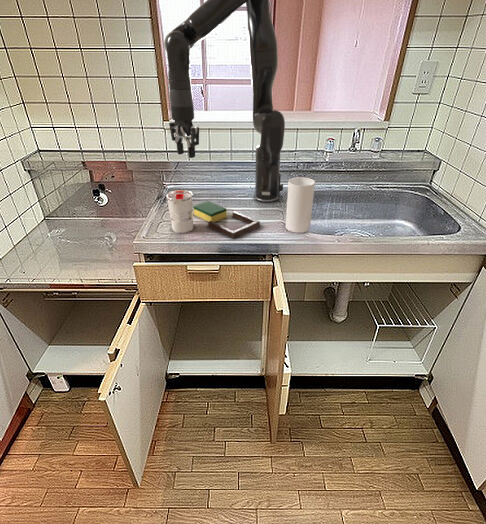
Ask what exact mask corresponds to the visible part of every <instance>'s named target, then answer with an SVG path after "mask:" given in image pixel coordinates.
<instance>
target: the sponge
mask: <svg viewBox="0 0 486 524" xmlns="http://www.w3.org/2000/svg"><path fill="white" fill-rule="evenodd" d="M192 207H193V216H195V217H198V218H200V219H202V220H204V221H206V222H209V221H213V222H215V223H217V222H218V221H221V220H223V219H225V218H226V219H227V216H228V215H227V208H226V207H223V206H222V205H219V204H216V203H214V202H212V201H209V200H206V201H204V202H200V203H198V204H195V205H192Z"/></svg>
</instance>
